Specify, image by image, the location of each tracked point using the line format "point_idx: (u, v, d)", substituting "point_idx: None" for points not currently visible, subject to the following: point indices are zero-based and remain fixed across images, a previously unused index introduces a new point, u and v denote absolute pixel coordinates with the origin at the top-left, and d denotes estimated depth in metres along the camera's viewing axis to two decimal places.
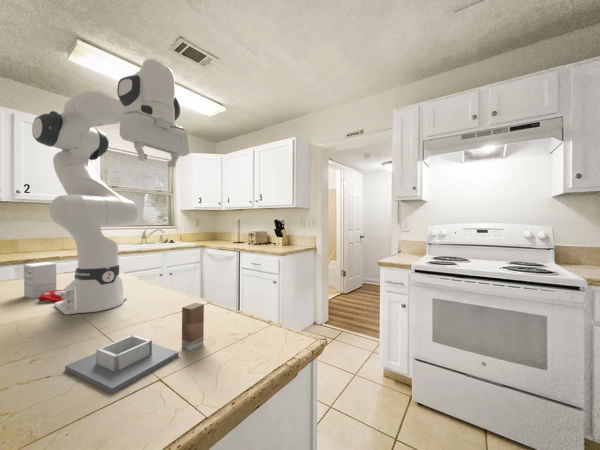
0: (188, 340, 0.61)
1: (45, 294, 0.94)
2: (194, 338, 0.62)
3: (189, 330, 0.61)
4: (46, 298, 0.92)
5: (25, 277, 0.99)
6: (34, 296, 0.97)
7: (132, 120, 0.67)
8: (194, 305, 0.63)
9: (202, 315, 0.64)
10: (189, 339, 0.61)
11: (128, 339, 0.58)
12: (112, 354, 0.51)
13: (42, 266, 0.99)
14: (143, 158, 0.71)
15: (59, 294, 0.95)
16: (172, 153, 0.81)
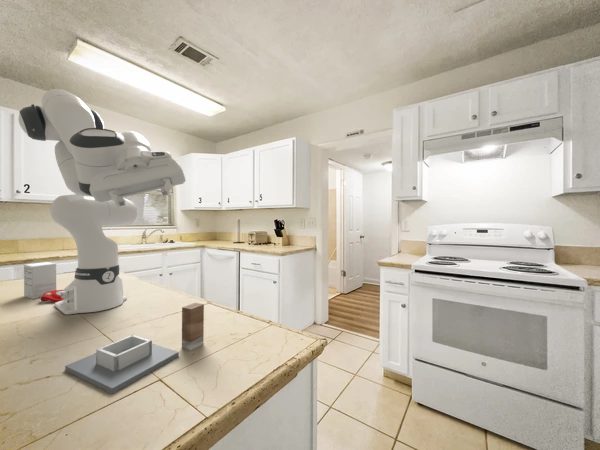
0: (188, 340, 0.61)
1: (47, 294, 0.93)
2: (194, 338, 0.62)
3: (189, 330, 0.61)
4: (47, 298, 0.92)
5: (25, 277, 0.99)
6: (34, 296, 0.97)
7: None
8: (194, 305, 0.63)
9: (202, 315, 0.64)
10: (189, 339, 0.61)
11: (128, 339, 0.58)
12: (112, 354, 0.51)
13: (42, 266, 0.99)
14: None
15: (60, 294, 0.95)
16: (116, 192, 0.59)
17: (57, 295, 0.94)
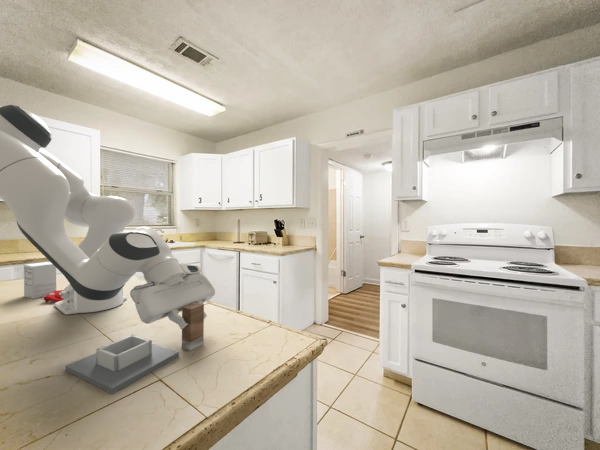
0: (188, 340, 0.61)
1: (50, 294, 0.93)
2: (194, 338, 0.62)
3: (189, 330, 0.61)
4: (50, 298, 0.92)
5: (25, 277, 0.99)
6: (34, 296, 0.97)
7: None
8: (194, 305, 0.63)
9: (202, 315, 0.64)
10: (189, 339, 0.61)
11: (128, 339, 0.58)
12: (112, 354, 0.51)
13: (42, 266, 0.99)
14: None
15: None
16: None
17: (60, 295, 0.94)
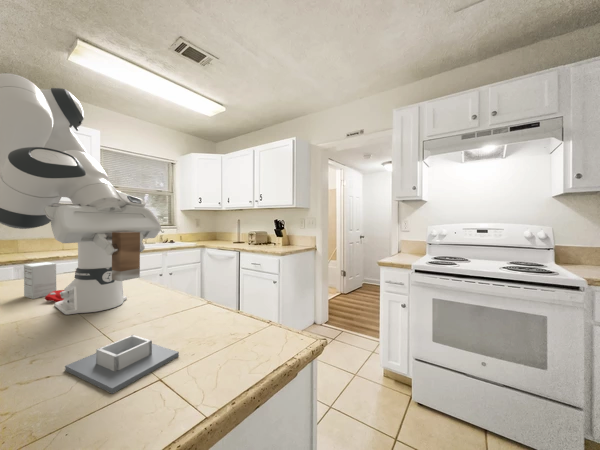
0: (118, 269, 0.53)
1: (51, 294, 0.94)
2: (126, 268, 0.53)
3: (119, 257, 0.52)
4: (51, 298, 0.92)
5: (25, 277, 0.99)
6: (34, 296, 0.97)
7: None
8: (128, 232, 0.55)
9: (138, 244, 0.55)
10: (119, 268, 0.53)
11: (128, 339, 0.58)
12: (112, 354, 0.51)
13: (42, 266, 0.99)
14: None
15: None
16: None
17: (60, 295, 0.94)
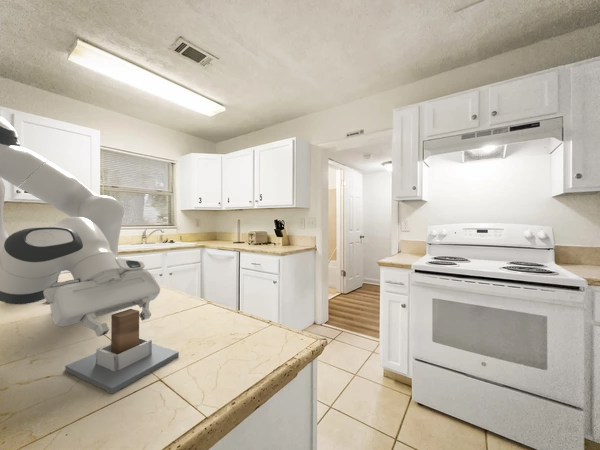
0: (117, 352, 0.53)
1: None
2: (125, 350, 0.54)
3: (118, 341, 0.53)
4: None
5: None
6: None
7: None
8: (127, 312, 0.55)
9: (137, 323, 0.56)
10: (118, 351, 0.53)
11: None
12: (112, 354, 0.51)
13: None
14: None
15: None
16: None
17: None
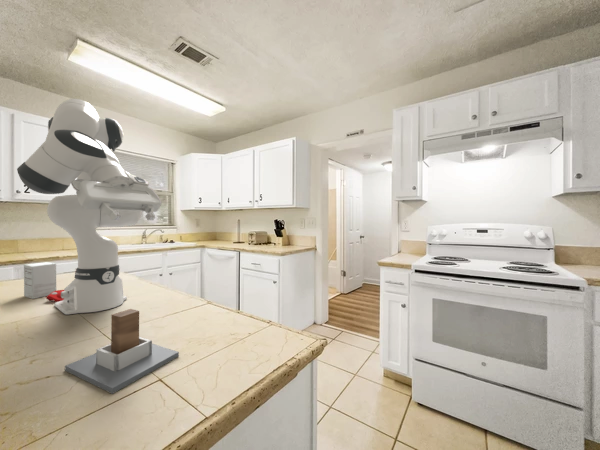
0: (117, 352, 0.53)
1: (52, 294, 0.94)
2: (125, 350, 0.54)
3: (118, 341, 0.53)
4: (52, 298, 0.93)
5: (25, 277, 0.99)
6: (34, 296, 0.97)
7: None
8: (127, 312, 0.55)
9: (137, 323, 0.56)
10: (118, 351, 0.53)
11: None
12: (112, 354, 0.51)
13: (42, 266, 0.99)
14: None
15: None
16: None
17: None
